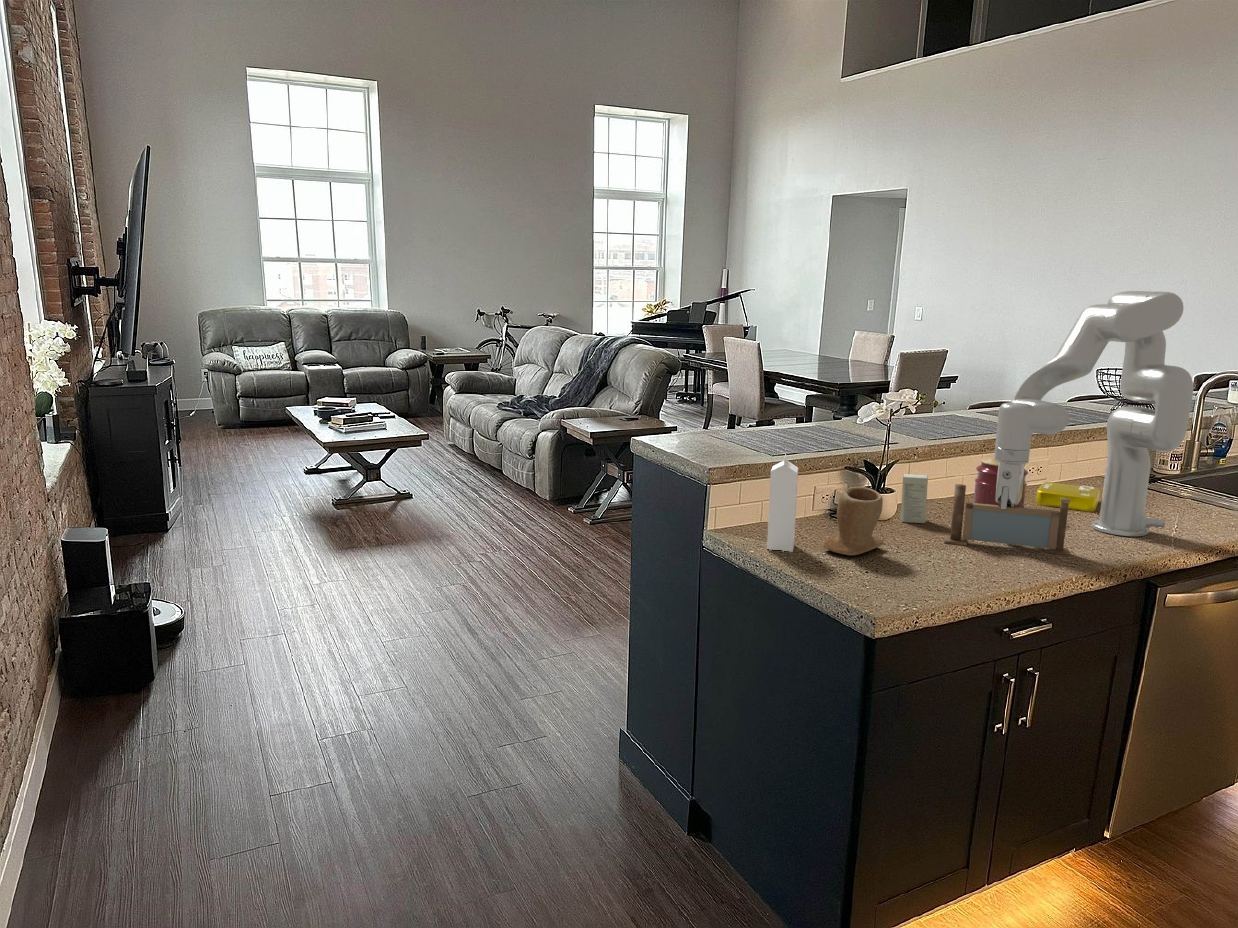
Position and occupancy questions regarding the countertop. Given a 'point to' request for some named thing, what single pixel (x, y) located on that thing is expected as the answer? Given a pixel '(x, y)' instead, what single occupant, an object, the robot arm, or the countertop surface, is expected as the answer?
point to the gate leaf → (1011, 525)
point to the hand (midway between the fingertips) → (1003, 529)
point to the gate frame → (958, 519)
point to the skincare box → (914, 498)
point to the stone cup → (856, 522)
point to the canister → (991, 482)
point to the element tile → (1068, 496)
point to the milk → (782, 506)
